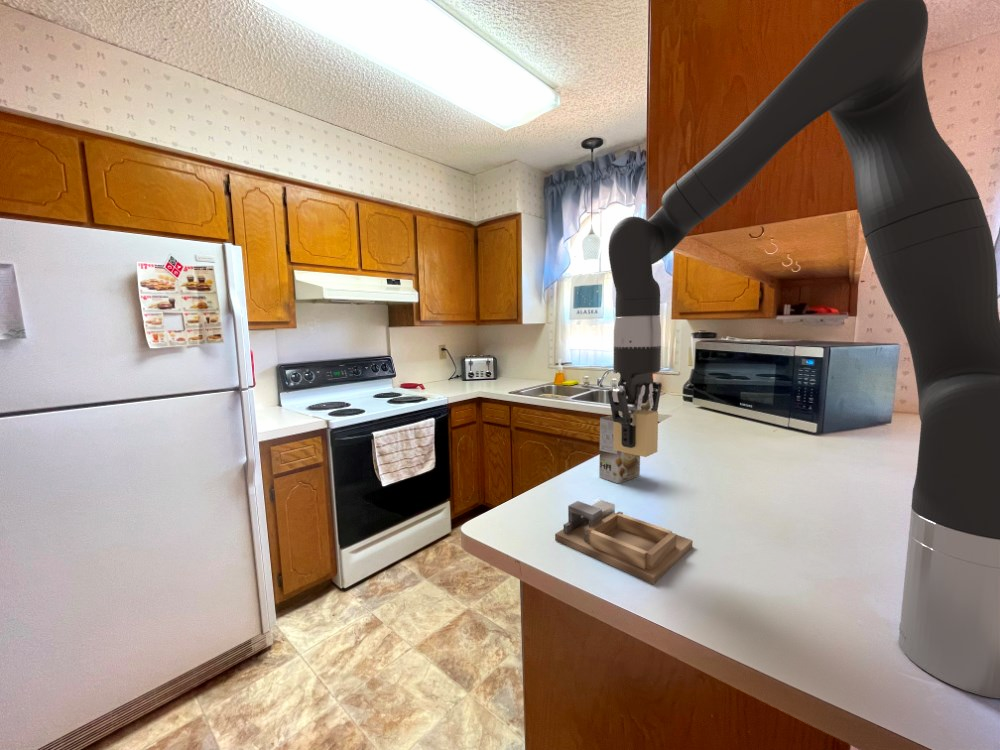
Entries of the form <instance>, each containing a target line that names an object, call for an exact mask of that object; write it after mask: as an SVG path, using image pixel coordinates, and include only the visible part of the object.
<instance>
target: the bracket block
mask: <svg viewBox="0 0 1000 750" xmlns="http://www.w3.org/2000/svg"><path fill="white" fill-rule="evenodd" d="M618 412H619V415H620V411H618ZM629 415H630V416H631V411H629ZM635 426H636V443H635V447H633V448H629V447H624V446H623V445H622V441H621V439H622V426H621V424H620V423H617V422H614V443H613V450H616V451H621V452H625V453H629V454H634V455H638V456H640V457H643V458H647V457H649V456H651V455H654V454H655V453H658V440H659V439H658V438H659V437H658V435H659V434H658V433H659V432H658V431H659V411H658V410H657V411H651V410H644V409H641V410H640V412H639V413H637V414H636V424H635Z"/></svg>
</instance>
